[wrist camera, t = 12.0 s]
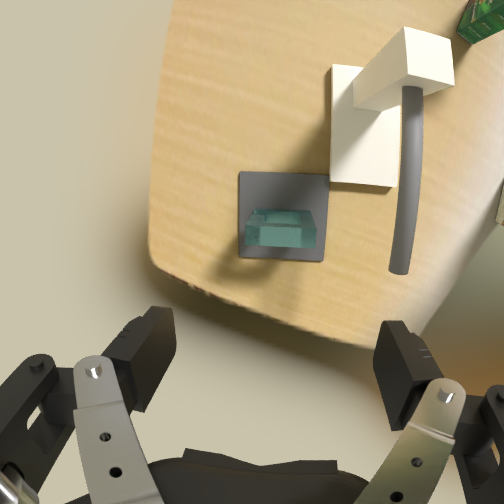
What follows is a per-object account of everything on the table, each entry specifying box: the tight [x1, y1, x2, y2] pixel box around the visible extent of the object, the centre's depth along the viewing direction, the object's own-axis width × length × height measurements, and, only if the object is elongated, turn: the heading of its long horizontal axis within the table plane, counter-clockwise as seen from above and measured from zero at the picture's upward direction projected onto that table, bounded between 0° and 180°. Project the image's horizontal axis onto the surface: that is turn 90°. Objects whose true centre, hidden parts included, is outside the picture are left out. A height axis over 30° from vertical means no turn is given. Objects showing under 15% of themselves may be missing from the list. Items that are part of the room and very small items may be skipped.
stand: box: [329, 27, 454, 275], centre depth 21 cm, size 7×16×16 cm, turn 179°
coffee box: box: [456, 0, 504, 44], centre depth 15 cm, size 8×3×13 cm, turn 151°
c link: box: [245, 208, 317, 248], centre depth 28 cm, size 6×2×8 cm, turn 89°
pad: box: [239, 171, 330, 261], centre depth 32 cm, size 9×9×1 cm
